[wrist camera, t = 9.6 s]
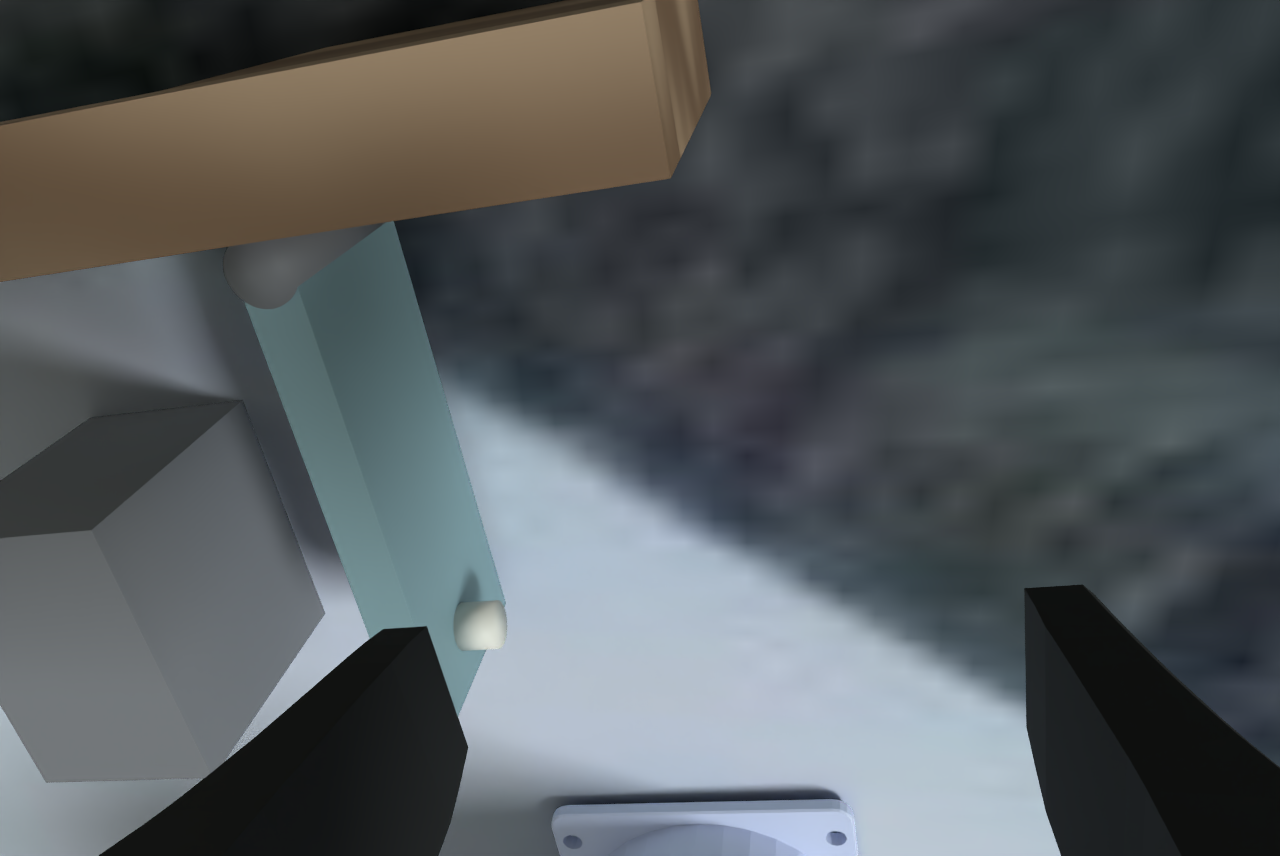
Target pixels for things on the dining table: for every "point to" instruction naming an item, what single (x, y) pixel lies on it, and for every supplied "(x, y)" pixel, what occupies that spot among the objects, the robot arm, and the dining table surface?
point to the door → (376, 435)
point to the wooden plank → (359, 136)
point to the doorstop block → (146, 594)
